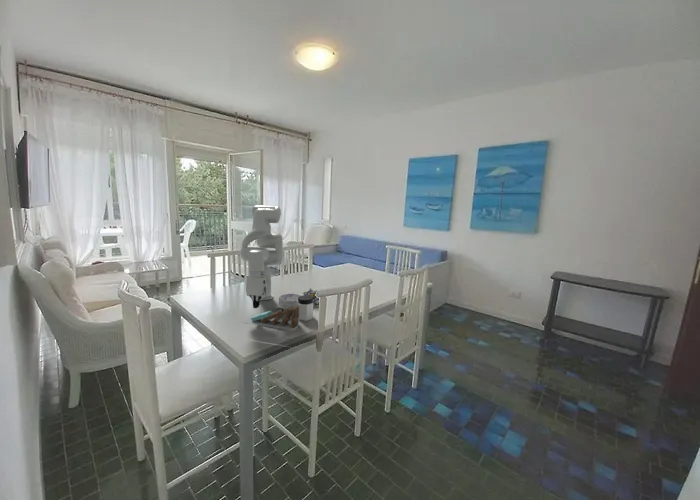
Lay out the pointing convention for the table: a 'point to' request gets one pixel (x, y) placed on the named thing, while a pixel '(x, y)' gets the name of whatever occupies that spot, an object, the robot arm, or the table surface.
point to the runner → (269, 324)
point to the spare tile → (261, 315)
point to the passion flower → (312, 293)
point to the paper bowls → (288, 300)
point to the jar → (305, 307)
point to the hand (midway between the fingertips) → (256, 307)
